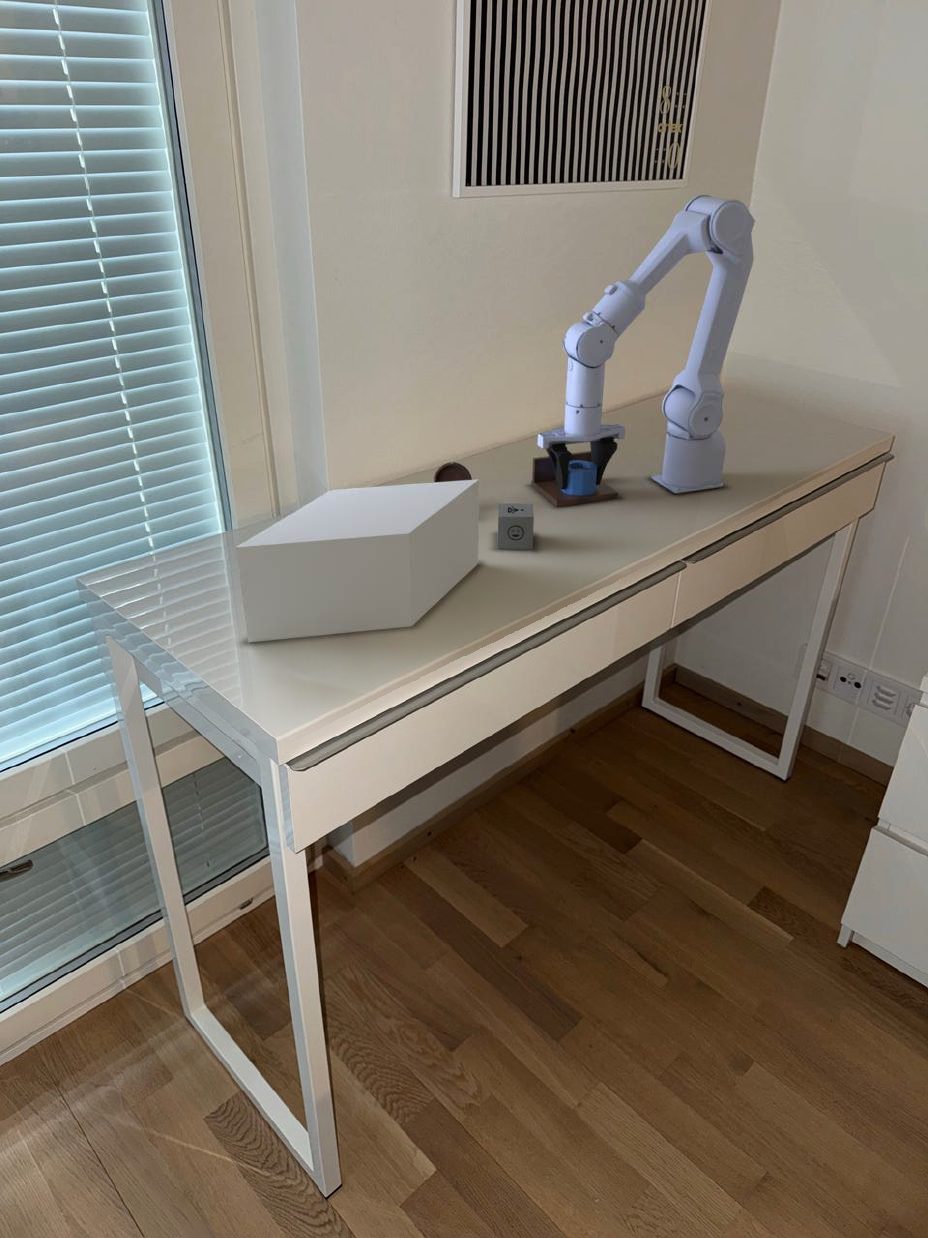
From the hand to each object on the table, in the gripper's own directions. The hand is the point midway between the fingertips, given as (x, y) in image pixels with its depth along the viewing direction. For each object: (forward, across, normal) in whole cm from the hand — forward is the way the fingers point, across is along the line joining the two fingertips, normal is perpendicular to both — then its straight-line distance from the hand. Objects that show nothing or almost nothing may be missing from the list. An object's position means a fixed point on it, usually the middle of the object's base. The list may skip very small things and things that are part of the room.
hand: (578, 485), depth 149 cm
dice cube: (+2, +17, +14) cm, 22 cm away
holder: (+2, 0, -2) cm, 2 cm away
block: (+2, +41, +24) cm, 48 cm away
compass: (+2, +22, 0) cm, 22 cm away
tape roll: (+1, 0, 0) cm, 1 cm away
